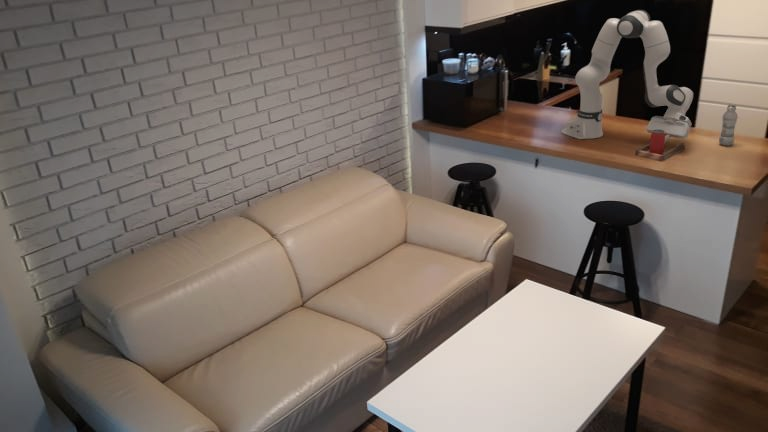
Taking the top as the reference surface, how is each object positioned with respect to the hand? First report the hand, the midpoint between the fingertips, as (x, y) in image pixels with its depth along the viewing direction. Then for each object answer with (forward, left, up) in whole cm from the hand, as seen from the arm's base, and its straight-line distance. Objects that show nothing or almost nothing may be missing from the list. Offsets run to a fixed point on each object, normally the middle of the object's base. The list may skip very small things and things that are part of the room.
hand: (661, 142), depth 303 cm
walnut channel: (0, 0, -5) cm, 5 cm away
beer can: (0, -4, -5) cm, 6 cm away
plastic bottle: (+20, +27, -5) cm, 34 cm away
